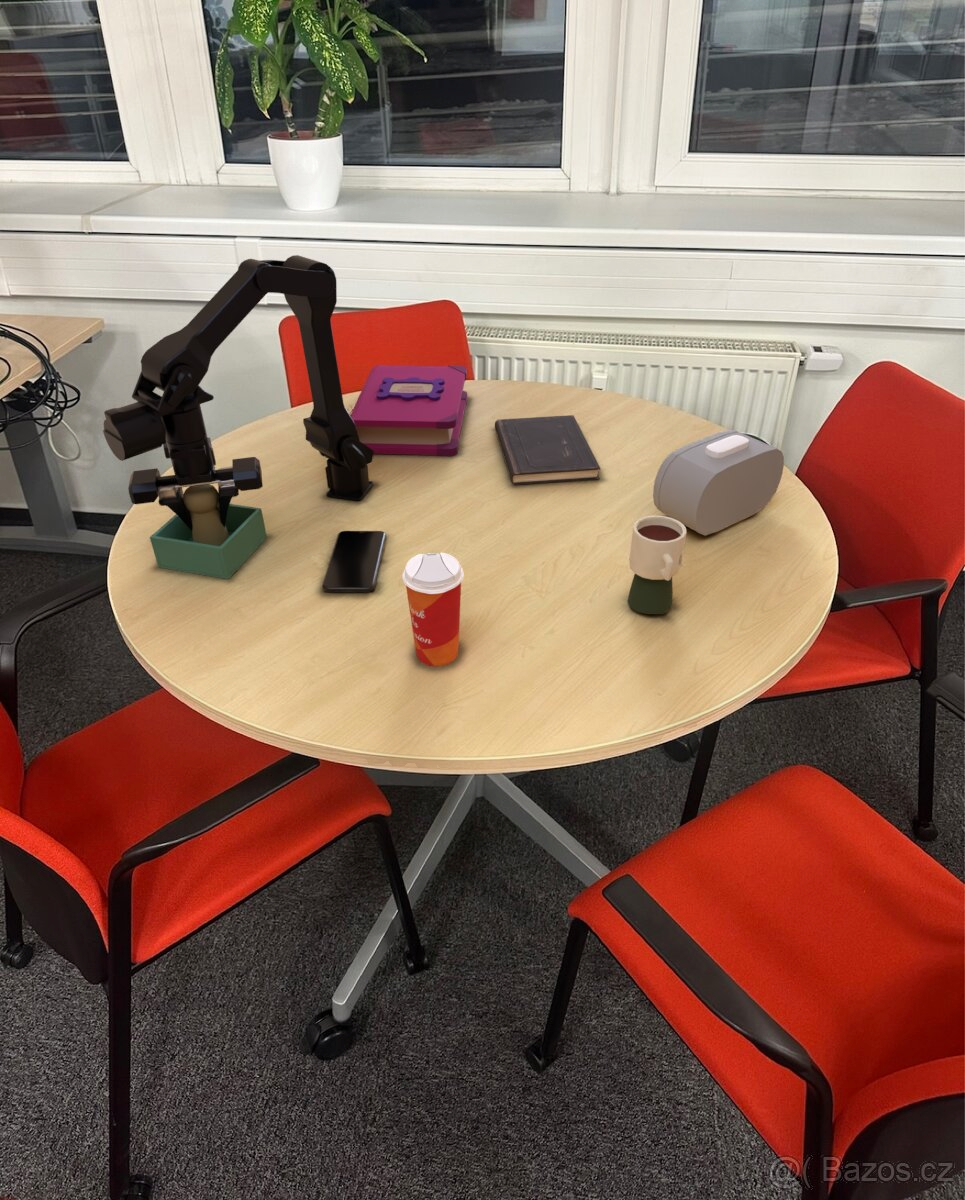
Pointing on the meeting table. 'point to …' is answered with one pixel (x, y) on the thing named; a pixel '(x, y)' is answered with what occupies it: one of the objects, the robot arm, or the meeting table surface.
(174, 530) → the tote
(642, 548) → the character mug
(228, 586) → the meeting table surface
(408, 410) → the book
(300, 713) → the meeting table surface
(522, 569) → the meeting table surface
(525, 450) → the hardcover book
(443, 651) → the paper cup
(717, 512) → the alarm clock
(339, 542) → the smartphone
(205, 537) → the brown pawn
